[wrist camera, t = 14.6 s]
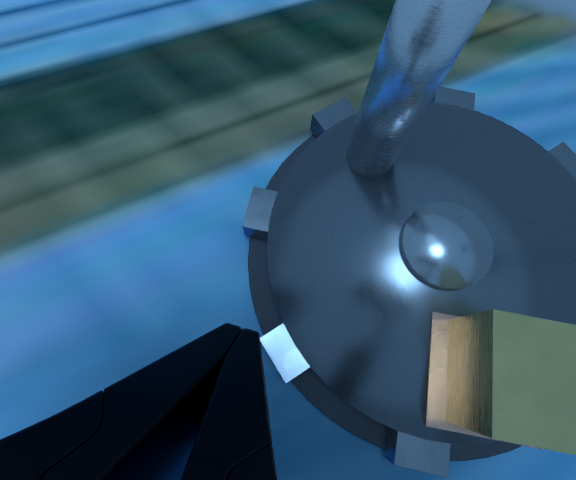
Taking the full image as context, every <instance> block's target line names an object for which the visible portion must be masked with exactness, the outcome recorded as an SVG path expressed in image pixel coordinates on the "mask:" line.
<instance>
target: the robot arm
mask: <svg viewBox="0 0 576 480" xmlns="http://www.w3.org/2000/svg"><path fill="white" fill-rule="evenodd" d="M0 480H277V476H276V469H275V462H274V454H273V447H272V438H271V430H270V421H269V412H268V404H267V395H266V386H265V378H264V369H263V360H262V352H261V343H260V335H259V333H258V332H256V331H253V330H249V329H246V328H244V329H242V328H241V327H239V326H236V325H232V324H229V323H225V324H223V325H221V326H219V327H218V328H216V329H214V330H212V331H210V332H208V333H207V334H205V335H203V336H201V337H199V338H197V339H195V340H194V341H192V342H190V343H188V344H186V345H184V346H183V347H181V348H179V349H177V350H175V351H173V352H171V353H170V354H168V355H166V356H164V357H162V358H160V359H159V360H157V361H155V362H153V363H151V364H149V365H148V366H146V367H144V368H142V369H140V370H138V371H136V372H135V373H133V374H131V375H129V376H127V377H125V378H124V379H122V380H120V381H118V382H116V383H114V384H113V385H111V386H109V387H107V388H105V389H104V393H103V391H99V392H97V393H96V394H94V395H92V396H90V397H88V398H86V399H85V400H83V401H81V402H79V403H77V404H75V405H73V406H71V407H69V408H67V409H65V410H63V411H61V412H59V413H57V414H55V415H53V416H51V417H49V418H47V419H45V420H43V421H40V422H38V423H36V424H34V425H32V426H30V427H27V428H25V429H23V430H21V431H19V432H17V433H14V434H12V435H10V436H7V437H5V438H3V439H1V440H0Z"/></svg>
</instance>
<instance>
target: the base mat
mask: <svg viewBox="0 0 576 480" xmlns="http://www.w3.org/2000/svg"><path fill="white" fill-rule="evenodd" d="M315 139H316V136H315V135H313V136H311V137H310V138H309V139H307V140H306V141H305V142H304V143H302V144H301V145H300V146H299V147H298V148H296V149H295V150H294V151H293V152H292V153H291V155H290V156H289V157H288V158H287V159H286V160H285V161H284V162H283V163H282V164H281V166H280V167H279V169H278V170H277V171H276V173H275V174H274V176H273V177H272V179H271V180H270V182H269V184H268V186H267V188H266V189H267V190H272V191H277V192H278V190H279V188H280V186H281V184H282V182H283V180H284V178H285V176H286V174H287V172H288V171H289V169H290V168H291V166H292V165H293V164H294V162H295V161H296V159H297V158H298V156H299V155H300V154H301V153H302V152H303V151H304V150H305V149H306V148H307V147H308V146H309V144H310V143H311V142H313V141H314V140H315ZM248 269H249V282H250V290H251V294H252V299H253V304H254V309H255V312H256V315H257V318H258V321H259V324H260V326H261V329H262V332H263V335H266V334H267V333H269V332H270V331H272V330H273V329H275V328H276V327H278V326H279V325H281V324H282V323H281V320H280V317H279V315H278V312H277V309H276V307H275V304H274V300H273V295H272V291H271V287H270V282H269V271H268V261H267V240H263V239H259V238H254V237H250V240H249V256H248ZM291 381H292V383H293V384H294V385H295V386H296V387H297V388H298V389H299V390H300V392H301V393H302V394H303V395H304V396H305V397H306V398H307V399H308V401H310V402H311V403H312V404H313V405H314V406H315V407H316V408H318V409H319V410H320V411H321V412H322V413H323V414H325V415H326V416H327V417H328V418H329V419H330V420H332V421H333V422H335V423H337V424H338V425H340V426H341V427H343V428H344V429H346V430H347V431H349V432H350V433H352V434H353V435H355V436H357V437H359V438H361V439H363V440H365V441H368V442H370V443H372V444H374V445H376V446H378V447H380V448H383V449H386V441H387V433H388V426H386V425H384V424H382V423H380V422H377V421H375V420H373V419H372V418H370V417H368V416H367V415H365V414H364V413H362V412H361V411H359V410H357V409H356V408H354V407H353V406H351V405H350V404H348V403H346V402H345V401H343V400H342V399H341V398H340V397H339V396H337V395H336V394H335V393H334V392H333V391H332V390H330V389H329V388H328V387H327V386H326V385H324V384H323V382H322V381H321V380H320V379H319V378H318V377H317V376H316V375H315V374H314V373H313V372H312V371H311V369H310V368H308V369H306V370H305V371H304V372H302V373H301V374H299V375H298V376H296V377H295V378H293V379H292V380H291ZM520 446H522V445H518V444H513V443H508V442H503V441H500V442H493V443H485V444H451V445H450V460H449V461H466V460H473V459H481V458H488V457H491V456H495V455H498V454H501V453H505V452H508V451H511V450H514V449H516V448H518V447H520Z"/></svg>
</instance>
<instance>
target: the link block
mask: <svg viewBox="0 0 576 480" xmlns="http://www.w3.org/2000/svg"><path fill="white" fill-rule="evenodd" d="M446 422H449V423H452V424H454V425H457V426H460V427H462V428H465V429H468V430H471V431H473V432H476V433H479V434H482V435H484V436H487V437H490V438H493V439H498V440H503V441H508V442H513V443H518V444H523V445H528V446H533V447H538V448H543V449H548V450H553V451H558V452H563V453H568V454H573V455H576V325H574V324H568V323H563V322H558V321H553V320H547V319H542V318H537V317H532V316H526V315H521V314H516V313H511V312H505V311H500V310H495V309H492V310H487V311H483V312H479V313H474V314H470V315H466V316H461V317H457V318H453V319H450V339H449V361H448V383H447V405H446Z"/></svg>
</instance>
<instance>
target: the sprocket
mask: <svg viewBox="0 0 576 480" xmlns="http://www.w3.org/2000/svg"><path fill="white" fill-rule="evenodd" d="M490 2H491V0H396V2H395V5H394V8H393V11H392V14H391V17H390V20H389V23H388V26H387V29H386V32H385V35H384V37H383V40H382V43H381V46H380V49H379V52H378V55H377V58H376V61H375V64H374V67H373V70H372V73H371V76H370V79H369V82H368V85H367V88H366V91H365V94H364V97H363V100H362V103H361V106H360V109H359V112H357V111H356V110H355V109H354V107H353V106H352V105H351V104H350V103H349V101H348V100H347V99H346V98H343V99H341V100H339V101H338V102H336V103H334V104H332V105H330V106H328V107H326V108H324V109H322V110H320V111H318V112H317V113H315V114H313V115H312V121H311V128H310V130H311V131H312V132H313V134H314V135H315V136H316V139H315V140H314V141H313V142H311V143H310V144H309V146H308V147H307V148H306V149H305V150H304V151H303V152H302V153H301V154H300V155H299V156H298V158H297V159H296V161H295V162H294V164H293V165H292V166H291V168H290V169H289V171H288V172H287V174H286V176H285V178H284V180H283V182H282V184H281V186H280V188H279V190H278V192H277V191H272V190H267V189H263V188H258V187H253V191H252V194H251V198H250V201H249V205H248V209H247V212H246V216H245V219H244V223H243V230H244V234H245V236H250V237H254V238H259V239H263V240H267V261H268V271H269V282H270V287H271V291H272V295H273V300H274V304H275V307H276V309H277V312H278V315H279V317H280V320H281V323H282V324H281V325H279V326H278V327H276V328H275V329H273V330H272V331H270V332H269V333H267V334H266V335H264V336H262V337H261V338H260V341H261V343H262V344H263V346H264V348H265V349H266V351H267V353H268V354H269V356H270V358H271V359H272V361H273V363H274V364H275V366H276V368H277V370H278V371H279V373H280V375H281V376H282V378H283V380H284V381H285V383H288V382H289V381H290V380H292V379H293V378H295V377H296V376H298V375H299V374H301V373H302V372H304V371H305V370H306V369H308V368H310V369H311V371H312V372H313V373H314V374H315V375H316V376H317V377H318V378H319V379H320V380H321V381H322V382H323V384H324V385H326V386H327V387H328V388H329V389H330V390H332V391H333V392H334V393H335V394H336V395H337V396H339V397H340V398H341V399H342V400H343V401H345V402H346V403H348V404H350V405H351V406H353V407H354V408H356V409H357V410H359V411H361V412H362V413H364V414H365V415H367V416H368V417H370V418H372V419H373V420H375V421H377V422H380V423H382V424H384V425H386V426H388V433H387V441H386V449H385V457H386V458H387V459H388V460H389V461H390V462H391V463H392V464H394V465H396V466H400V467H404V468H409V469H413V470H417V471H421V472H425V473H429V474H433V475H437V476H442V477H446V478H448V474H449V460H450V445H451V444H485V443H493V442H500V441H503V440H498V439H493V438H490V437H487V436H484V435H482V434H479V433H476V432H473V431H471V430H468V429H465V428H462V427H460V426H457V425H454V424H452V423H449V422H446V405H447V383H448V361H449V339H450V319H453V318H457V317H461V316H466V315H470V314H474V313H479V312H483V311H487V310H492V309H495V310H500V311H505V312H511V313H516V314H521V315H526V316H532V317H537V318H542V319H547V320H553V321H558V322H563V323H568V324H574V325H576V154H575V153H574V152H573V151H572V150H571V149H570V148H569V147H568V146H567V145H566V144H565V143H564V142H562V143H561V144H559V145H558V146H556V147H555V148H553V149H552V150H550V151H547V150H546V149H544V148H543V147H542V146H540V145H539V144H538V143H536V142H535V141H534V140H533V139H531V138H530V137H528V136H526V135H525V134H523V133H522V132H520V131H518V130H517V129H515V128H514V127H512V126H510V125H508V124H506V123H504V122H501V121H499V120H497V119H495V118H493V117H490V116H488V115H485V114H482V113H480V112H477V111H474V102H475V93H470V92H465V91H460V90H455V89H450V88H445V87H440V85H441V84H442V82H443V80H444V79H445V77H446V75H447V74H448V72H449V70H450V69H451V67H452V65H453V64H454V62H455V60H456V59H457V57H458V55H459V54H460V52H461V50H462V49H463V47H464V45H465V44H466V42H467V40H468V39H469V37H470V35H471V34H472V32H473V30H474V29H475V27H476V25H477V24H478V22H479V20H480V19H481V17H482V15H483V14H484V12H485V10H486V9H487V7H488V5H489V4H490ZM503 442H508V441H503ZM508 443H513V442H508ZM513 444H518V443H513ZM518 445H523V444H518ZM523 446H528V445H523ZM529 447H533V446H529ZM534 448H538V447H534ZM539 449H541V448H539Z"/></svg>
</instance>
